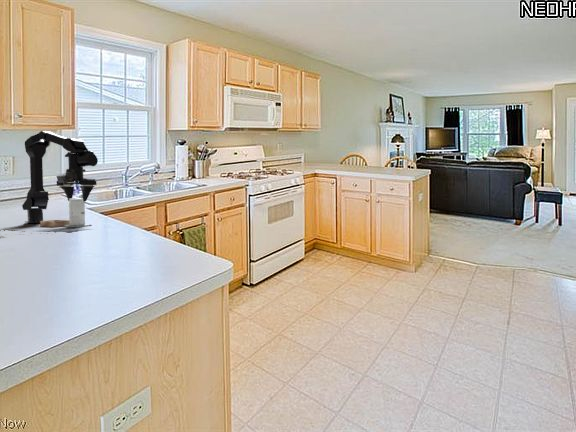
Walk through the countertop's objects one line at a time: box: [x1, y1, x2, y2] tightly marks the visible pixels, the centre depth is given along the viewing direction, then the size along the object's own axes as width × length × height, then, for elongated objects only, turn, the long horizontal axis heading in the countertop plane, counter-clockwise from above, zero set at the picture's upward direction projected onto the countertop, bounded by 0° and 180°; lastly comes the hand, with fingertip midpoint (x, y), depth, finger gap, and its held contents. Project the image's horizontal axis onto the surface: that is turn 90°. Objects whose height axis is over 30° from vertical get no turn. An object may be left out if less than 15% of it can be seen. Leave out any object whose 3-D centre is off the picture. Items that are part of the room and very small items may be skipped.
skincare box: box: [68, 197, 86, 225], centre depth 180 cm, size 6×4×12 cm
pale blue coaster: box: [63, 223, 92, 228], centre depth 180 cm, size 8×8×1 cm
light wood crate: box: [39, 219, 70, 228], centre depth 182 cm, size 9×9×2 cm
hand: (77, 201), depth 179 cm, fingers open, 9 cm apart
